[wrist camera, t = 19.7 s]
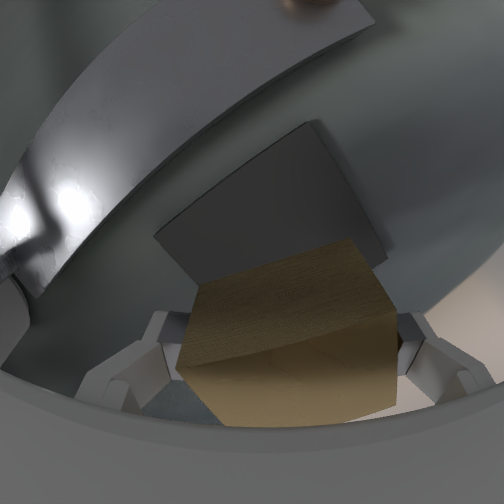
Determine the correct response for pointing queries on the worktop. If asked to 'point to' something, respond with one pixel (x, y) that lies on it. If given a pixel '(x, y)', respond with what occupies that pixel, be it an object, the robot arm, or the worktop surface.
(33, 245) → the body
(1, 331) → the can
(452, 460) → the robot arm
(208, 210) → the mat
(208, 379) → the brown wooden block
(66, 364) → the worktop surface
